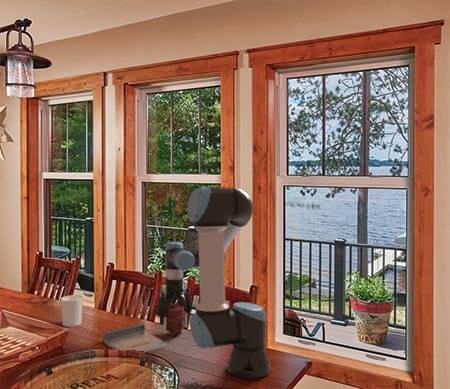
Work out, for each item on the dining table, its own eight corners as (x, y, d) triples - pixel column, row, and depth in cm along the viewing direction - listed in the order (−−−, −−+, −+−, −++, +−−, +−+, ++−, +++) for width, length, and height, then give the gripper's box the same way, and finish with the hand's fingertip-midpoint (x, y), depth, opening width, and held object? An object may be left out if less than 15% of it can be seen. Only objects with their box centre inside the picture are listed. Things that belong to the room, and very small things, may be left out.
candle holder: (83, 325, 201) (83, 299, 201) (60, 328, 198) (60, 301, 197) (82, 319, 211) (82, 294, 210) (60, 321, 207) (60, 296, 207)
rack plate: (166, 346, 178) (166, 336, 178) (125, 357, 167) (125, 347, 166) (142, 332, 193) (142, 323, 193) (103, 341, 182) (103, 332, 182)
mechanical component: (188, 330, 196) (181, 337, 186) (167, 328, 198) (159, 336, 188) (188, 302, 195) (182, 308, 185) (167, 301, 197) (159, 307, 187)
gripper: (191, 273, 201) (190, 321, 202) (146, 279, 187) (146, 332, 187) (200, 276, 195) (200, 326, 196) (155, 283, 181) (155, 337, 182)
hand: (174, 329), depth 192 cm, fingers closed on mechanical component, 10 cm apart
